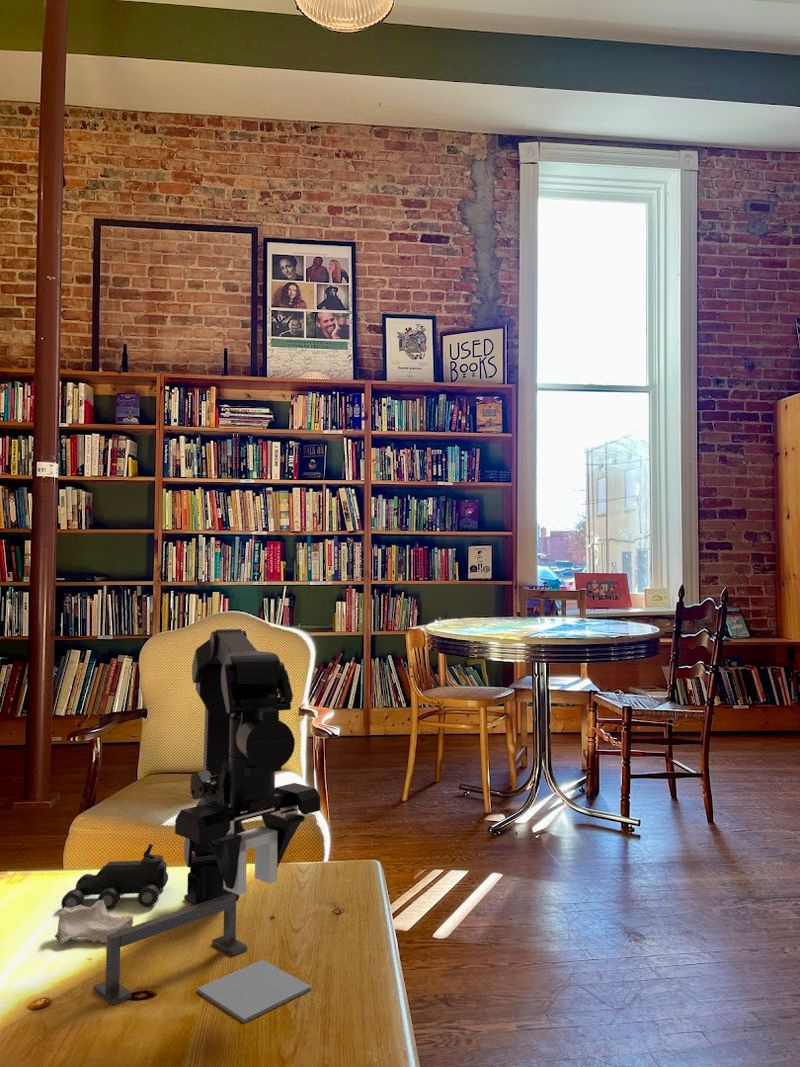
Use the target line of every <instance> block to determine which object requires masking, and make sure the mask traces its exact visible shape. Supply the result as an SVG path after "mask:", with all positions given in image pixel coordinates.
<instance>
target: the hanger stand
mask: <svg viewBox="0 0 800 1067" xmlns="http://www.w3.org/2000/svg"><path fill="white" fill-rule="evenodd" d="M220 912H223V935H221V936H219V937H216V938H214V939H212V940H211V945H212V946H214V947H216V948H217V949H220V951H222V952H225V953H226V954H228V955H230V957H234V956H236V955H238V954H241V953H244V952H246V951H248V945H247V944H245V943H243V942H241V941H239V940H237V938H236V937H237V934H236V933H237V932H236V931H237V899H236V895H235V894H232V893H230V894H227V895H223V896H220V897H217V898H214V899H211V900H208V901H205V902H203V903H200V904H197V905H195V904H193V905H191V906H188V907H186V908H182V909H179V910H177V911H174V912H171V913H168V914H165V915H162V916H159V917H155V918H153V919H150V920H147V921H145V922H141V923H138V924H136V925H135V924H134V925H132V927H129V928H126V929H124V930H121V931H118V932H116V933H113V934H110V935H107V942H106V950H105V951H106V955H105V956H106V957H105V981H102V982H100V983H97V984H95V985H93V992H94V993H96V994H97V995H98V996H100V997H101V998H102V999H103V1000H105V1001H106V1002H107V1003H108V1004H110V1005H111V1006H116V1005H119V1004H120V1003H122V1002H125V1001H127V1000H130V999H132V992H131V991H130V990H128V989H127V988H126V987H124V986H123V985H122V984H121V983H120V980H121V979H120V978H121V976H120V974H121V948H123V947H125V946H129V945H131V944H134V943H137V942H140V941H143V940H145V939H148V938H152V937H154V936H156V935H159V934H161V933H162V934H163V933H165V932H167V931H171V930H173V929H176V928H178V927H182V926H185V925H187V924H189V923H192V922H196V921H198V920H200V919H201V920H202V919H204V918H207V917H210V916H212V915H215V914H218V913H220Z"/></svg>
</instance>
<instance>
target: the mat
mask: <svg viewBox="0 0 800 1067" xmlns="http://www.w3.org/2000/svg"><path fill="white" fill-rule="evenodd" d="M311 990H312V985H309V984H308V983H306V982H304V981H302V979H299V978H297V977H295V976H293V975H292V974H290V973H288V972H286V971H285V970H282V969H280V968H279V967H277V966H275V965H274V964H271V963H270V962H268V961H266V960H264V959H261V960H259V961H256V962H253V963H252V964H250V965H247V966H245V967H243V968H240V969H238V970H235V971H234V972H231V973H229V974H226V975H224V976H222V977H219V978H217V979H214V980H212V981H210V982H208V983H205V984H203V985H201V986H198V987H197V988H196V992H197V993H199V994H200V995H201V996H202V997H205V998H207V1000H209V1001H210V1002H212V1003H213V1004H215V1005H216V1006H218V1007H220V1009H222V1010H224V1011H226V1012H227V1013H228V1014H230V1015H232V1016H234V1017H235V1018H236V1019H238V1020H239V1021H241V1022H242V1023H244V1024H245V1023H247V1022H249V1021H251V1020H253V1019H255V1018H257V1017H259V1016H261V1015H263V1014H265V1013H267V1012H269V1011H271V1010H273V1009H275V1008H277V1007H279V1006H281V1005H284V1004H285V1003H287V1002H290V1001H292V1000H293V999H296V998H297V997H300V996H301V995H303V994H306V993H308V992H310V991H311Z"/></svg>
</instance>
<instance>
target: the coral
mask: <svg viewBox="0 0 800 1067" xmlns="http://www.w3.org/2000/svg"><path fill="white" fill-rule="evenodd" d="M107 911H108V910H106V906H105V904H104V901H103V900H99V901H98V900H97V901H96V902H95V903H94V904H93V905H92V906H90V907H88V906H84V905H83V904H82V905H77V906H75V907H72V908H66V907H64V908H62V909H61V910H60V912H59V913H58V925H57V927H58V928H57V931H56V934H55V935H54V938H56V941H57V943H59V945H62V944H64V943H66V942H68V941H71V940H77V939H79V938H80V939H81V938H85V939H87V940H88V941H90V942H92V943H94V944H95V943H97V942H99V943H102V944H105V943H107V935H110V934H113V933H116V932H118V931H121V930H124V929H126V928H129V927H132V926H133V924H134V915H132V914H131V915H125V916H113V915H111V914H110V913H108V912H107Z"/></svg>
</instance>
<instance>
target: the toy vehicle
mask: <svg viewBox="0 0 800 1067" xmlns="http://www.w3.org/2000/svg"><path fill="white" fill-rule="evenodd" d="M153 846H154V844H152V843H149V844H148V847H147V849H146V850H144V853H143V854H142V856H143V858H142V859H141V860H121V861H120V860H119V861H117V860H116V861H108V862H107V863H106V864H105V865H103V866H102V868H101V869H100V870H99V871H98V872H97V874H92V873H91V874H90V873H86V874H85V873H84V874H83V875H82V876H81V877H80V878H79V879H78V880H77V882H76V884H75V888H73V889H71V890H69V891H68V892H66V894H65V895H64V896H63V897H62V899H61V908H62V909H63V908H64V907H66V908H72V907H75V906H77V905H82V906H83V904H84V902H85V896H97V895H98V897H97V901H99V900H103V901H104V904H105V906H106V910H107V911H109V910H113V909H114V908H115V907H116V906H117V904H118V903H119V901H120V896H121V895H127V894H128V895H129V894H130V895H131V894H134V895H135V894H138V895H137V902H138V903H139V905H140V906H141V907H143V908H150V907H152V906H154V905H155V904H156V903H157V902H158V899H159V896H160V891H161V890H163V889H164V888H165V887H166V885H167V883H168V881H169V875H168V873H167V865H168V864H167V862H165V860H164V857H163V855H160V854H155V855H154V854H152V853H151V851H152V849H153Z"/></svg>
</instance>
